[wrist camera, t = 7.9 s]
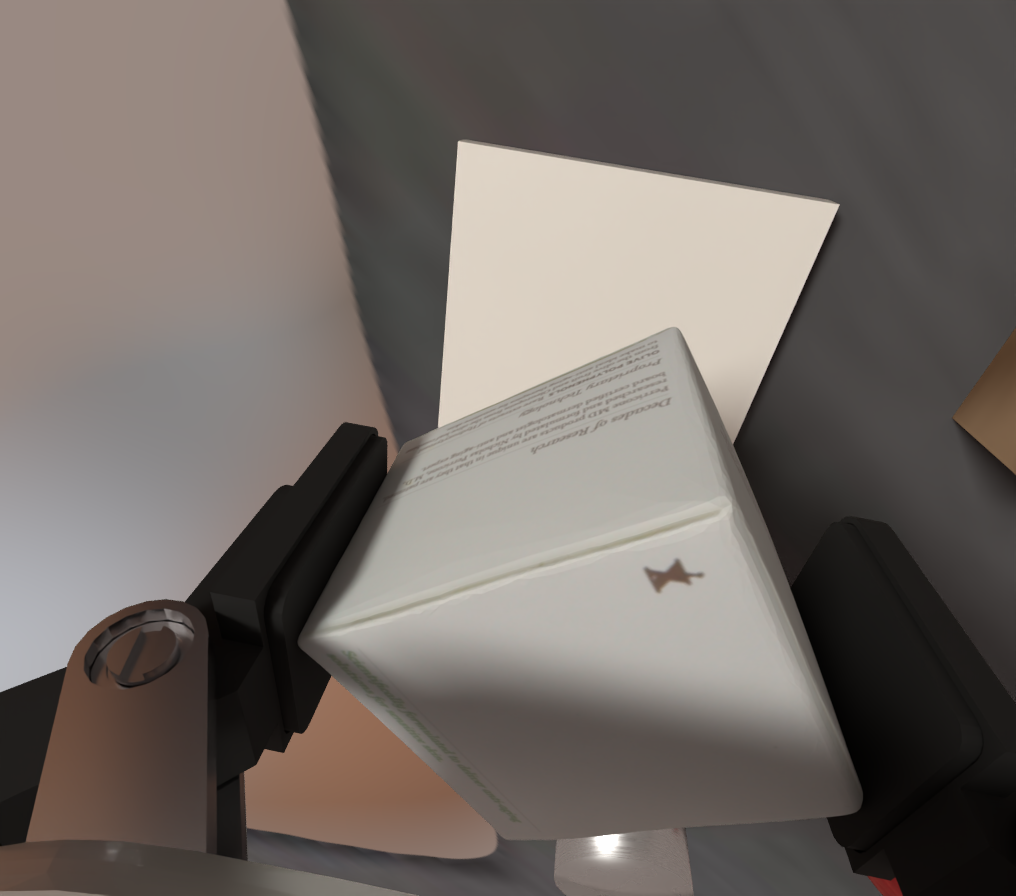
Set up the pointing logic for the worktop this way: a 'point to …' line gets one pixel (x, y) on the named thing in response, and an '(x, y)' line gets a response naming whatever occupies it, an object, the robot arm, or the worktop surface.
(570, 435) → the small box
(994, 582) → the worktop surface
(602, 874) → the tin
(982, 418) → the walnut block
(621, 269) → the plate
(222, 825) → the robot arm
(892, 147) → the worktop surface
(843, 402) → the worktop surface
